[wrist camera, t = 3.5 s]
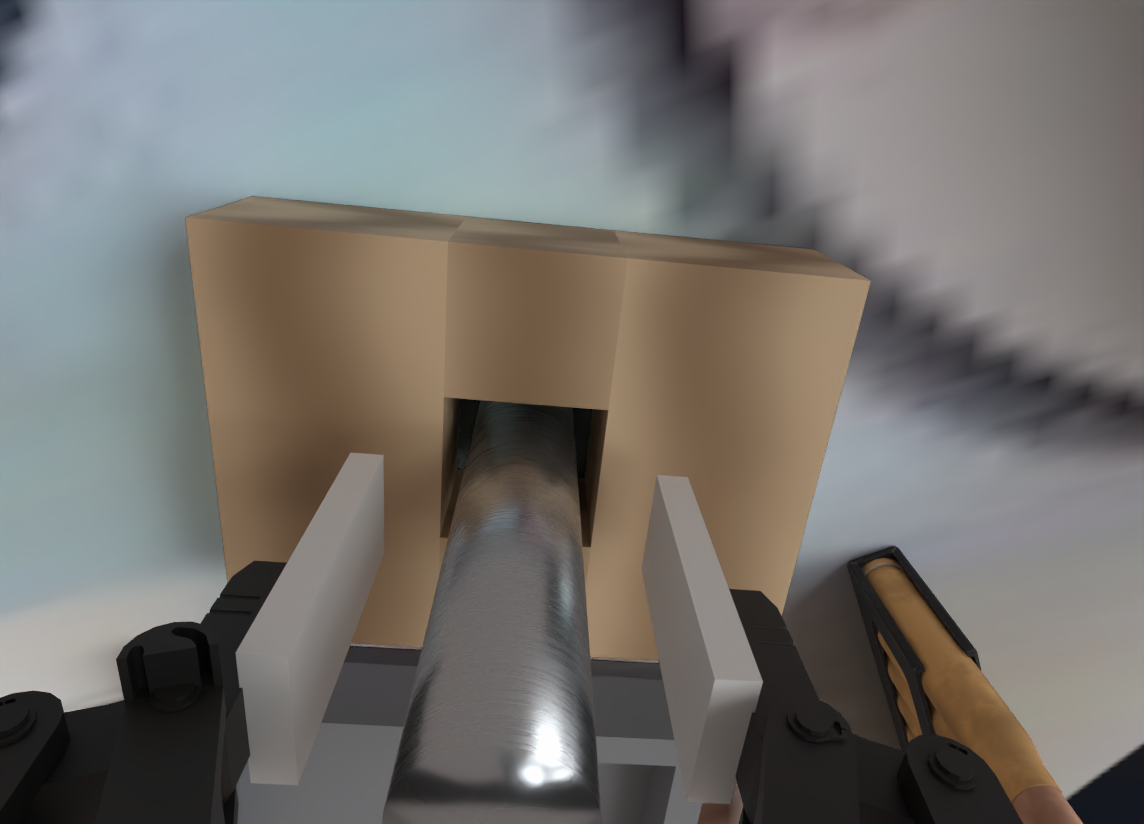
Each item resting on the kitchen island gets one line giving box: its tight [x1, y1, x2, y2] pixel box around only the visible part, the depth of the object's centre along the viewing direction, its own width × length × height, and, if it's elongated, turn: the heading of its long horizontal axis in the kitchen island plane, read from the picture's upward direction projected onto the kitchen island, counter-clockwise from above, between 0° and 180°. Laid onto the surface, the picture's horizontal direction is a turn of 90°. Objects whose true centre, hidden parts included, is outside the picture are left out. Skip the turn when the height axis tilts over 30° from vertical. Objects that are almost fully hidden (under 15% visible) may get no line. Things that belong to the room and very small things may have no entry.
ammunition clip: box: [847, 547, 1083, 824], centre depth 22 cm, size 11×2×12 cm, turn 22°
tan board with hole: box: [185, 196, 871, 660], centre depth 21 cm, size 16×12×4 cm
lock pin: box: [382, 400, 602, 824], centre depth 16 cm, size 3×3×14 cm
